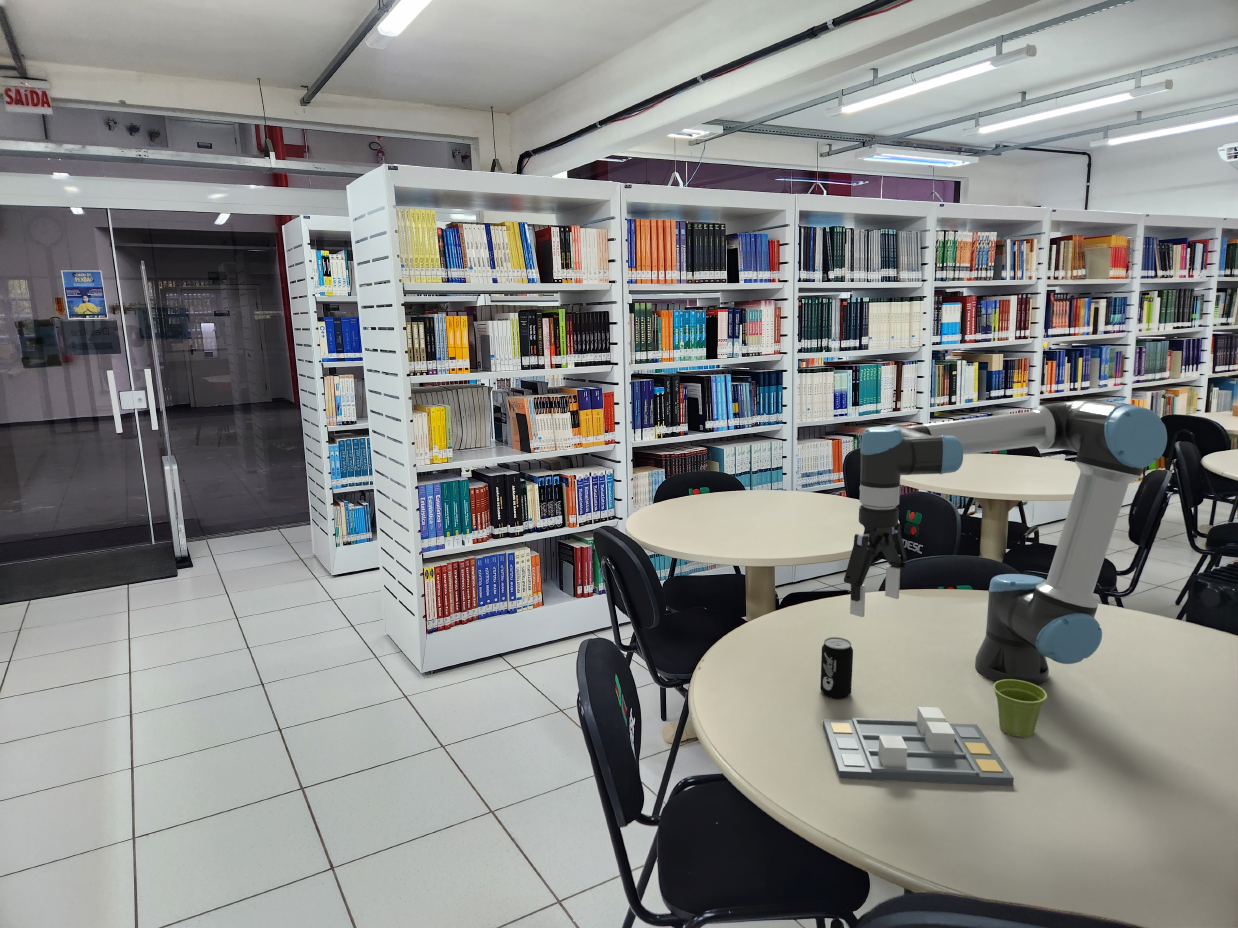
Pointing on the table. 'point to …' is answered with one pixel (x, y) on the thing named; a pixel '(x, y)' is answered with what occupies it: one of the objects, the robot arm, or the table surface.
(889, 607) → the table surface
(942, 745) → the white cube
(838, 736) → the switch bank
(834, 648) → the beverage can
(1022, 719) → the plant pot
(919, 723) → the white cube
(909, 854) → the table surface
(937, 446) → the robot arm
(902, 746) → the white cube
